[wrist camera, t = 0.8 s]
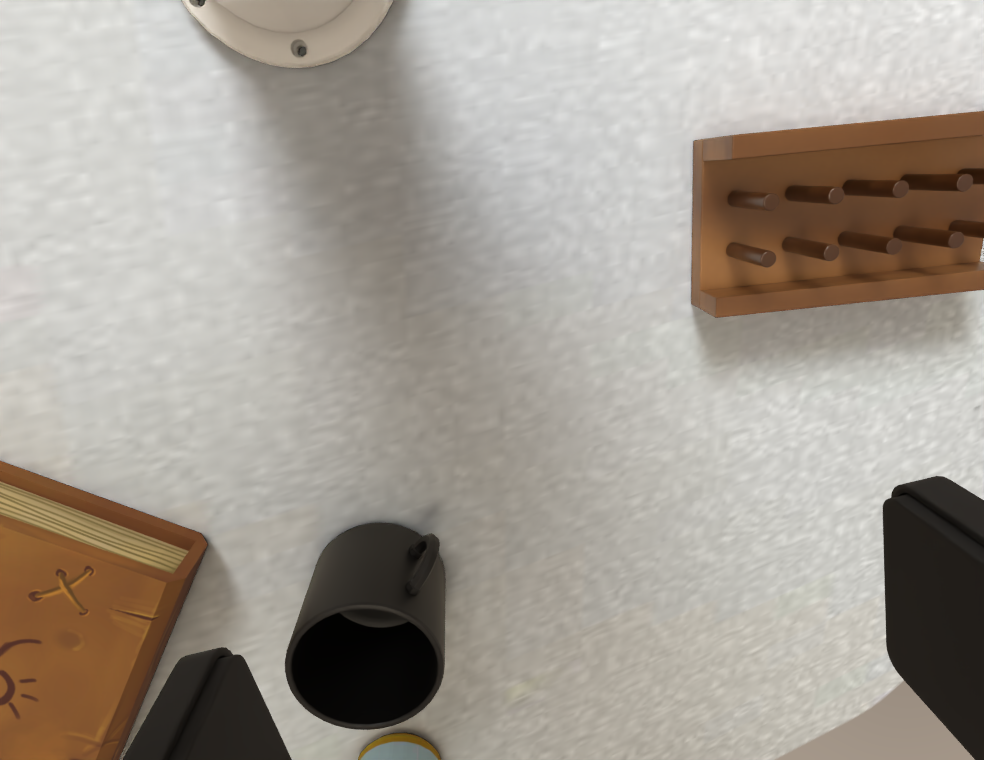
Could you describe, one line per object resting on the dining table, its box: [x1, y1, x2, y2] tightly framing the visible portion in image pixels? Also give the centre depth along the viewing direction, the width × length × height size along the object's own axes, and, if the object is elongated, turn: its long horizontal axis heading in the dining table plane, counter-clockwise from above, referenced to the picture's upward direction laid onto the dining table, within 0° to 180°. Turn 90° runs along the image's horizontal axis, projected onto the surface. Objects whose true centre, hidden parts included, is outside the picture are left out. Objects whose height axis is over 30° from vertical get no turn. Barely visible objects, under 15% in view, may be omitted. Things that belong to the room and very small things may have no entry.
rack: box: [691, 111, 984, 318], centre depth 36 cm, size 10×18×6 cm, turn 95°
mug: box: [285, 523, 446, 730], centre depth 41 cm, size 9×12×9 cm
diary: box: [0, 461, 208, 760], centre depth 42 cm, size 23×19×6 cm
